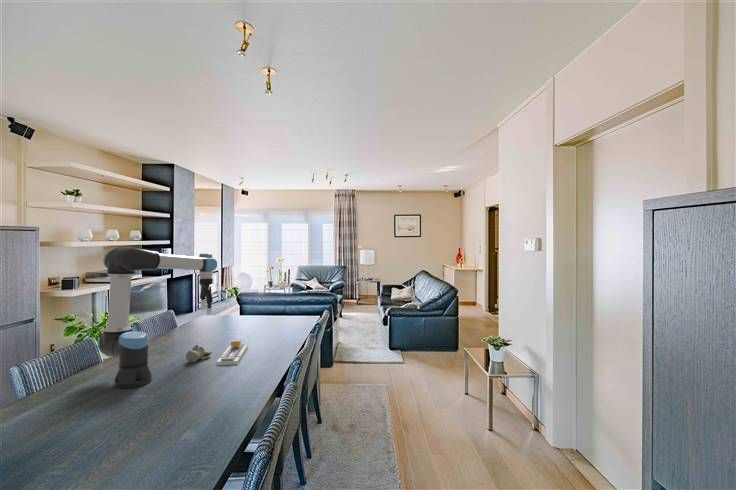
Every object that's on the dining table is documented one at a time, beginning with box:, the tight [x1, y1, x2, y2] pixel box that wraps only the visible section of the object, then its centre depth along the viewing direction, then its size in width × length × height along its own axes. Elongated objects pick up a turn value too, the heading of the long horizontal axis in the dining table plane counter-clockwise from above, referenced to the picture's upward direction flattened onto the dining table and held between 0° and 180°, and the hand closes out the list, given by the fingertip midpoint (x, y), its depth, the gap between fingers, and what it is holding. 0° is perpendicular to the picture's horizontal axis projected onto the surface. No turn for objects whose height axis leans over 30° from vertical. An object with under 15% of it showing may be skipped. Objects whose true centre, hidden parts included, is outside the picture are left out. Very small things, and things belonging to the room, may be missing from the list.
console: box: [216, 343, 249, 366], centre depth 208 cm, size 30×11×3 cm, turn 9°
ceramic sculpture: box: [185, 345, 212, 364], centre depth 202 cm, size 11×9×15 cm
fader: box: [230, 339, 242, 350], centre depth 215 cm, size 3×5×5 cm, turn 99°
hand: (206, 311), depth 220 cm, fingers open, 13 cm apart
